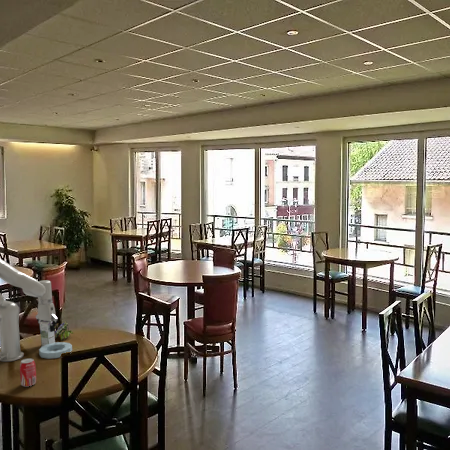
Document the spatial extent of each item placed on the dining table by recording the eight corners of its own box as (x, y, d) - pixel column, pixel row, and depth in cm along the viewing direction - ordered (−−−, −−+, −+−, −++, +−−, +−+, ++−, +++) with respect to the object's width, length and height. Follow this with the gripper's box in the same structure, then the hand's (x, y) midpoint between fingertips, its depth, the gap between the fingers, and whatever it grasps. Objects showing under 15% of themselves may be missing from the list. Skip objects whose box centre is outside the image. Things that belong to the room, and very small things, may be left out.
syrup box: (55, 343, 286) (54, 320, 284) (48, 347, 280) (47, 323, 278) (47, 342, 287) (46, 319, 286) (40, 346, 282) (39, 322, 280)
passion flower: (58, 346, 297) (54, 328, 302) (75, 340, 300) (71, 322, 305) (55, 341, 287) (51, 322, 292) (73, 335, 290) (69, 317, 295)
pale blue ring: (56, 360, 259) (55, 354, 259) (33, 355, 267) (32, 350, 266) (78, 349, 275) (77, 344, 274) (55, 345, 282) (55, 340, 282)
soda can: (23, 381, 232) (22, 358, 231) (38, 381, 233) (37, 357, 232) (18, 388, 225) (17, 363, 224) (34, 387, 226) (32, 362, 225)
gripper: (61, 301, 281) (63, 330, 283) (39, 298, 288) (41, 327, 290) (51, 304, 274) (53, 334, 276) (29, 301, 281) (31, 330, 283)
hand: (47, 330), depth 283 cm, fingers open, 7 cm apart
